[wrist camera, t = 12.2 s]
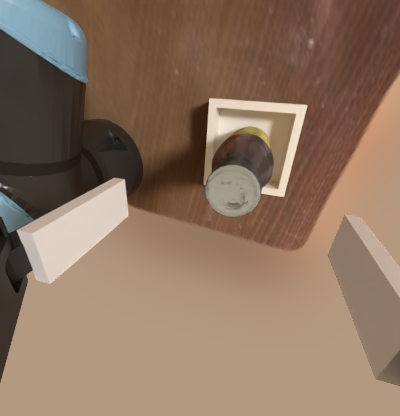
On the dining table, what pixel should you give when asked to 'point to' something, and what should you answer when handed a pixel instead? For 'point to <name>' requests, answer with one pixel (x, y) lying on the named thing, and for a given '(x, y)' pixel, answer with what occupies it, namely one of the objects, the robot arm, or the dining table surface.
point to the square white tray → (263, 119)
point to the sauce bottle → (240, 172)
